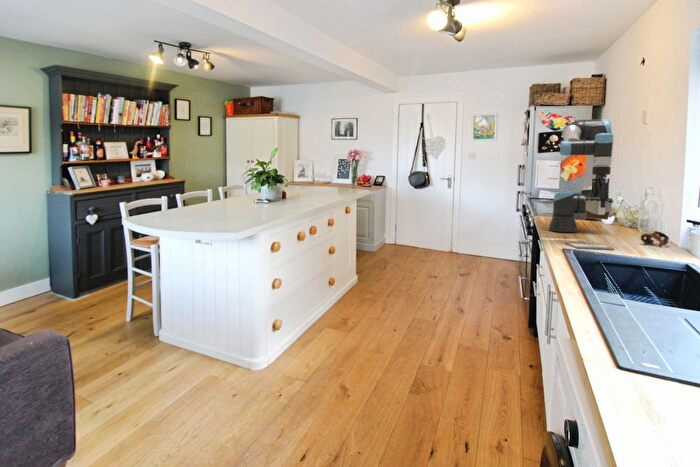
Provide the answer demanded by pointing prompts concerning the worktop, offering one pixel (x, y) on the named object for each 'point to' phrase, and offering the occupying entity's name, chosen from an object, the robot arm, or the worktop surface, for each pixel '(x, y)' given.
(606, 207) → the food container
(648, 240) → the brown looped knot
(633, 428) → the worktop surface
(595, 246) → the board
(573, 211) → the robot arm
